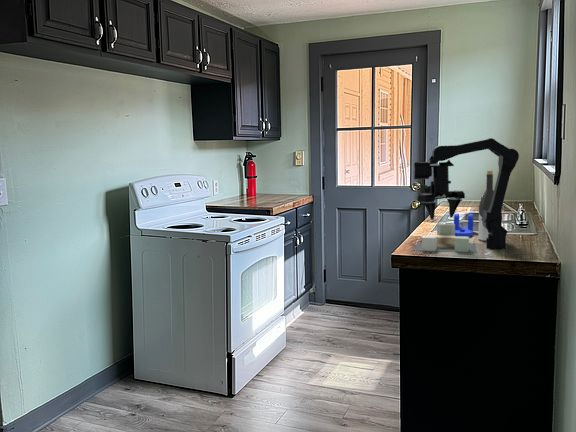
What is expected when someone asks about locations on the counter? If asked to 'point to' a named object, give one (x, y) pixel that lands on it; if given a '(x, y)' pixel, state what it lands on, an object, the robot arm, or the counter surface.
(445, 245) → the oak base block
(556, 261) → the counter surface
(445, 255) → the counter surface
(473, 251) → the mat
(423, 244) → the cream cube
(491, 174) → the wine bottle
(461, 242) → the sage cube
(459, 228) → the bracket
